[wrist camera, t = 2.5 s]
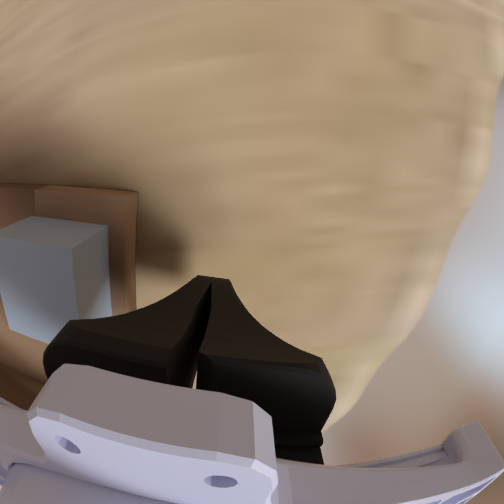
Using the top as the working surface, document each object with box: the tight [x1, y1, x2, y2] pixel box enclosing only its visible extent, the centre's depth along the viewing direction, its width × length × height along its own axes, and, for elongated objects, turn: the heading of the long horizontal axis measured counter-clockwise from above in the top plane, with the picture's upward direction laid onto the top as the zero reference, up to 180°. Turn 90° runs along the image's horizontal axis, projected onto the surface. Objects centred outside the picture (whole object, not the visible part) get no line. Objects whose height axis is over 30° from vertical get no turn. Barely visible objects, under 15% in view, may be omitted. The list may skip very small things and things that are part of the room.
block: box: [0, 216, 112, 344], centre depth 10 cm, size 4×4×3 cm
